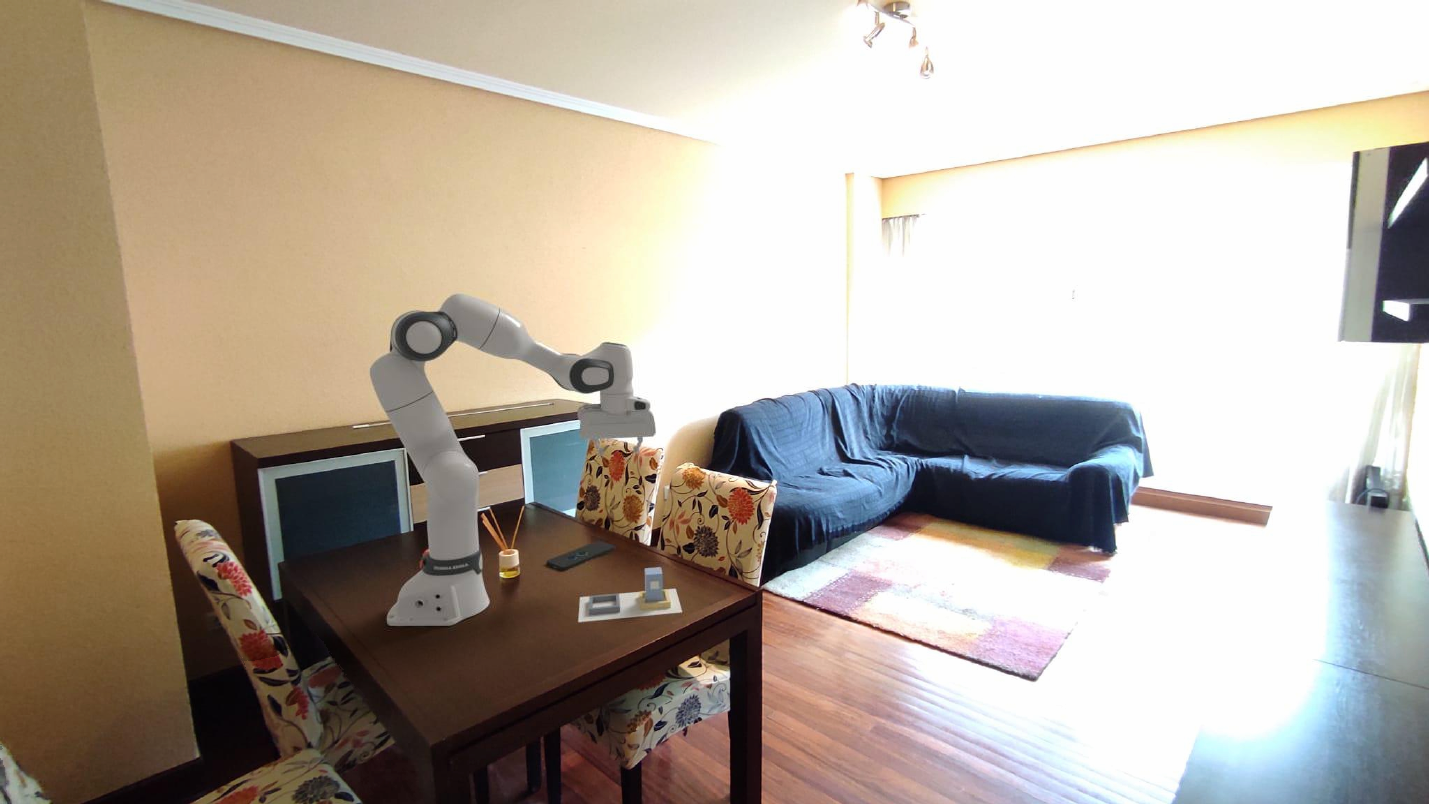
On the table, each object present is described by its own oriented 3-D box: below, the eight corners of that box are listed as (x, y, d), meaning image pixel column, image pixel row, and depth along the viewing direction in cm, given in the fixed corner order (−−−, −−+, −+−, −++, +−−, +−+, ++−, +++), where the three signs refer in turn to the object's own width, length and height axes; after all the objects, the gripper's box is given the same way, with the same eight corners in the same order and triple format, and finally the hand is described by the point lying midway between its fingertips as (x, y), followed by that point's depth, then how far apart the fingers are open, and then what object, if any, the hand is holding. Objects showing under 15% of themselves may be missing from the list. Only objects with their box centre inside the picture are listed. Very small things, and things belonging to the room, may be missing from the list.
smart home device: (545, 560, 176) (598, 540, 192) (545, 566, 177) (598, 545, 192) (563, 567, 171) (616, 545, 187) (564, 573, 172) (616, 551, 187)
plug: (646, 607, 148) (646, 576, 147) (645, 599, 153) (644, 568, 152) (663, 606, 149) (662, 574, 148) (661, 597, 154) (660, 567, 152)
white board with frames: (578, 624, 142) (578, 616, 141) (580, 599, 154) (579, 591, 154) (682, 614, 146) (682, 606, 146) (675, 590, 159) (675, 583, 158)
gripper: (576, 406, 160) (578, 458, 162) (655, 403, 164) (656, 454, 166) (577, 403, 166) (579, 453, 168) (653, 400, 170) (654, 449, 172)
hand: (618, 454), depth 167 cm, fingers open, 8 cm apart
